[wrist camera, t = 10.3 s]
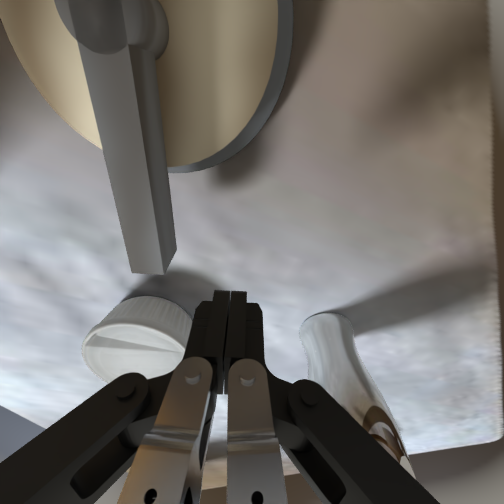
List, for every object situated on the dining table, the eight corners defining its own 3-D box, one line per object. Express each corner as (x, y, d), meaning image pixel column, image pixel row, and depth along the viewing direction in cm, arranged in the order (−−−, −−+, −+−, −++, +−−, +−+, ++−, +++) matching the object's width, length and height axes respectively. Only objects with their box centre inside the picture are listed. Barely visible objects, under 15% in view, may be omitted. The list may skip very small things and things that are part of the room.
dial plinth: (216, 204, 22) (212, 212, 21) (11, 86, 18) (-12, 86, 17) (347, -20, 15) (356, -32, 13) (51, -310, 11) (17, -375, 9)
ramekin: (167, 272, 26) (148, 310, 22) (221, 339, 32) (214, 380, 27) (85, 306, 29) (54, 345, 25) (147, 362, 35) (131, 403, 30)
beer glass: (369, 325, 30) (451, 503, 17) (327, 357, 33) (370, 527, 20) (322, 299, 28) (374, 478, 15) (283, 336, 31) (299, 509, 18)
